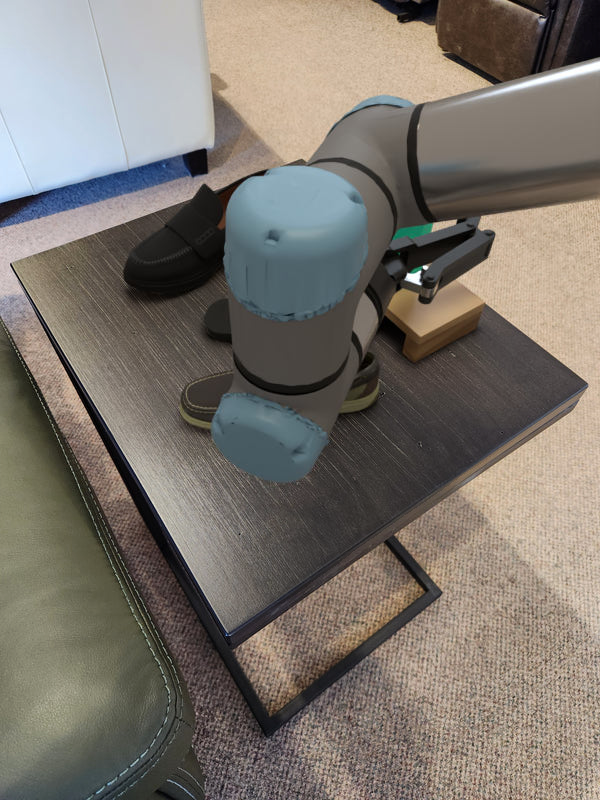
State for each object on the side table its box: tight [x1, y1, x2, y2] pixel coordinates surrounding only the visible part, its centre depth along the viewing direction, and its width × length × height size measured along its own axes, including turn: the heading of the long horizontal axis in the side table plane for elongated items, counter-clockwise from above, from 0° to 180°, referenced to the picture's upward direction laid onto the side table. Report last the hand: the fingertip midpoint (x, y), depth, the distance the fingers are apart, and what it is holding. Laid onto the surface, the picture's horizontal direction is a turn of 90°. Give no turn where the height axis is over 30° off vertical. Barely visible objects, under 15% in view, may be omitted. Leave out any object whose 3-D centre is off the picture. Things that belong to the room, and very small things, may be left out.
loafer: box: [122, 168, 270, 294], centre depth 88 cm, size 10×28×12 cm, turn 127°
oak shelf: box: [384, 263, 486, 364], centre depth 86 cm, size 22×12×5 cm, turn 35°
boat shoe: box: [179, 349, 381, 431], centre depth 72 cm, size 9×25×8 cm, turn 104°
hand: (406, 177), depth 60 cm, fingers open, 13 cm apart
